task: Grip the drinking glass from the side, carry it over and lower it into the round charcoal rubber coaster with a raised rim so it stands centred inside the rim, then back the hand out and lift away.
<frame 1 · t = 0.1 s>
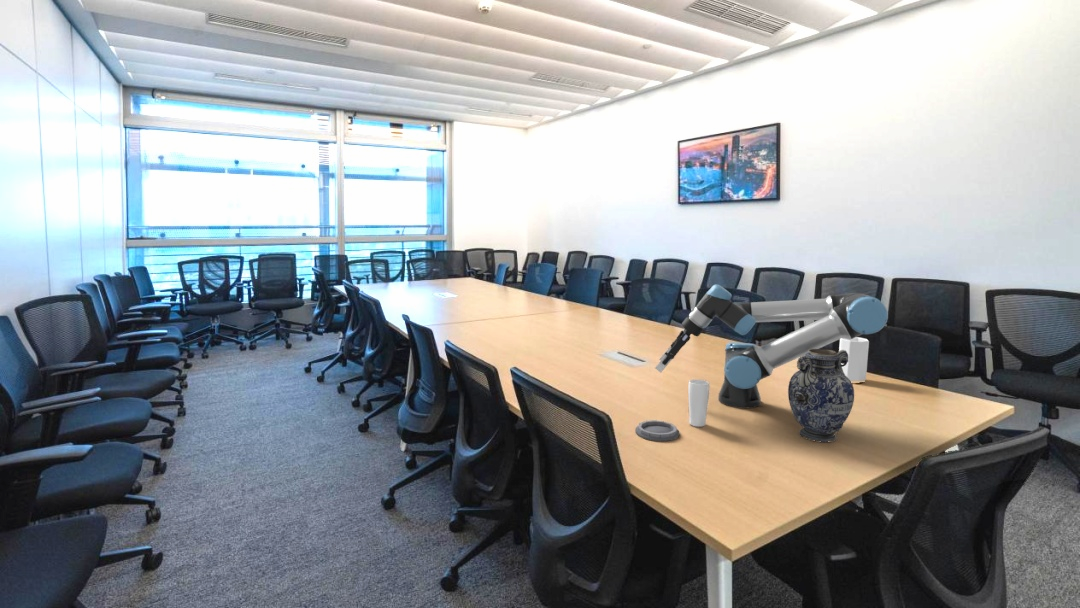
hand: (660, 365, 199), 15 cm above the table, tool tilted 35°, fingers open, 13 cm apart
decorative vase: (817, 436, 171), on the table
coaster: (657, 432, 174), on the table
cup: (850, 380, 233), on the table
drinking glass: (697, 425, 181), on the table
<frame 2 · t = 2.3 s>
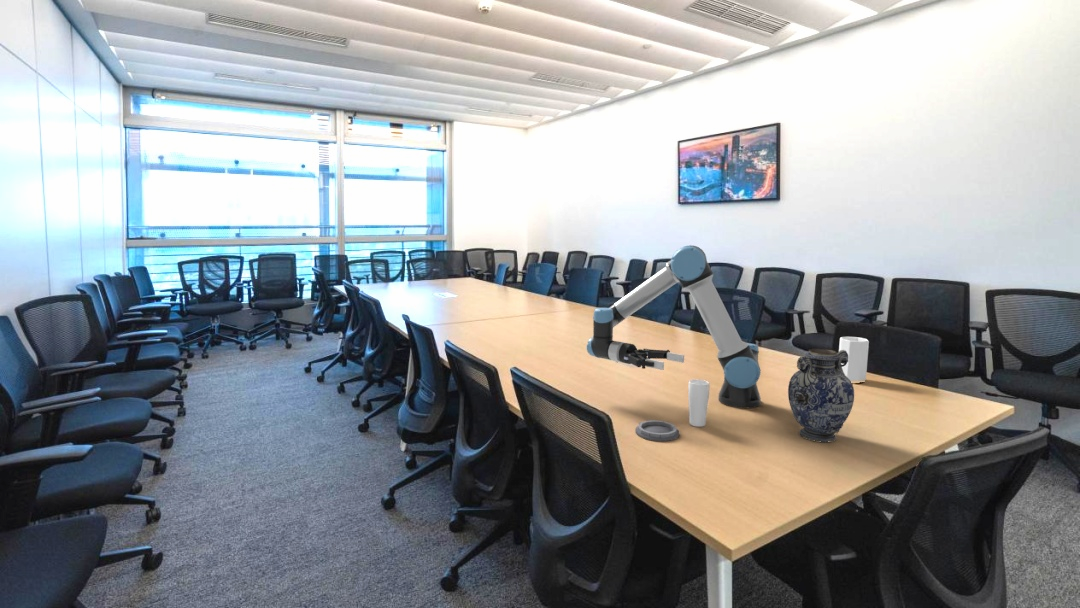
hand: (673, 362, 185), 20 cm above the table, tool horizontal, fingers open, 13 cm apart
nothing on the table moved.
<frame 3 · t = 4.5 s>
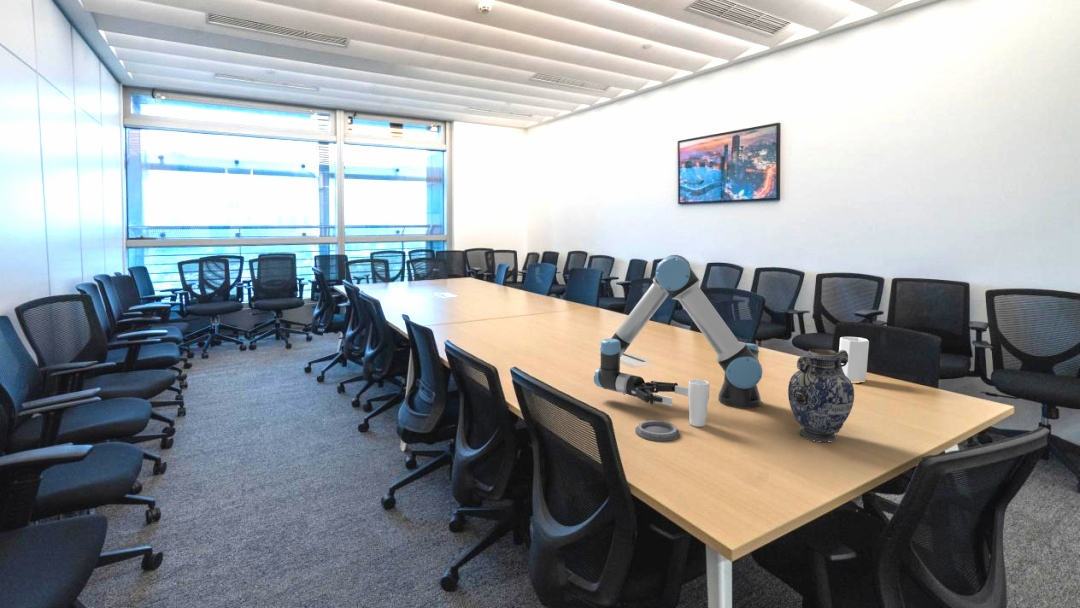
hand: (682, 397, 183), 8 cm above the table, tool horizontal, fingers open, 13 cm apart
nothing on the table moved.
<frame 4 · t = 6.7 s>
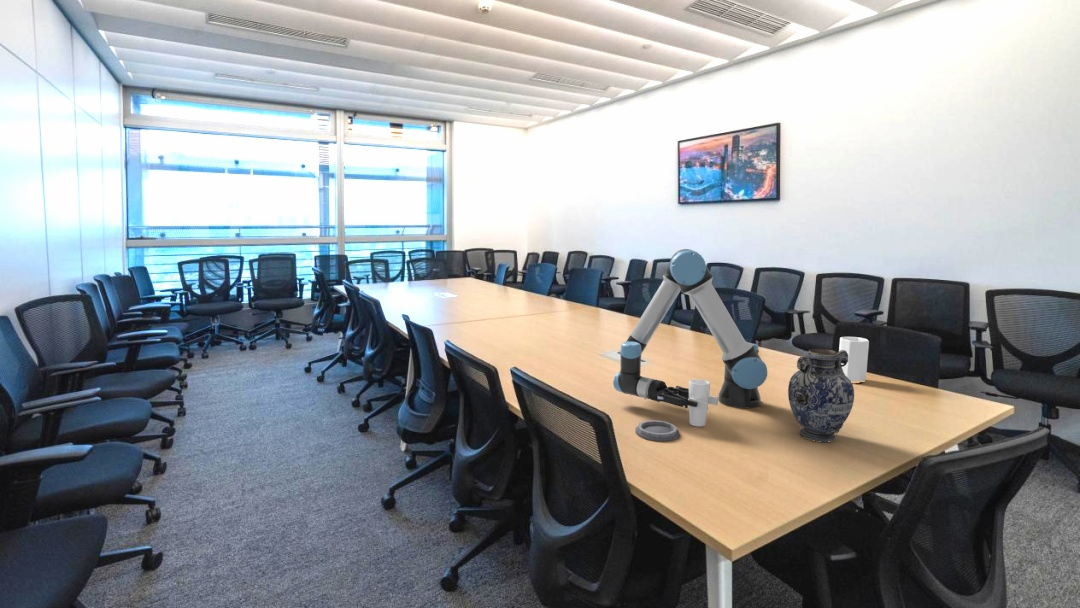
hand: (712, 403, 176), 9 cm above the table, tool horizontal, fingers closed on drinking glass, 6 cm apart
drinking glass: (697, 425, 181), on the table, touching gripper
everything else where it was.
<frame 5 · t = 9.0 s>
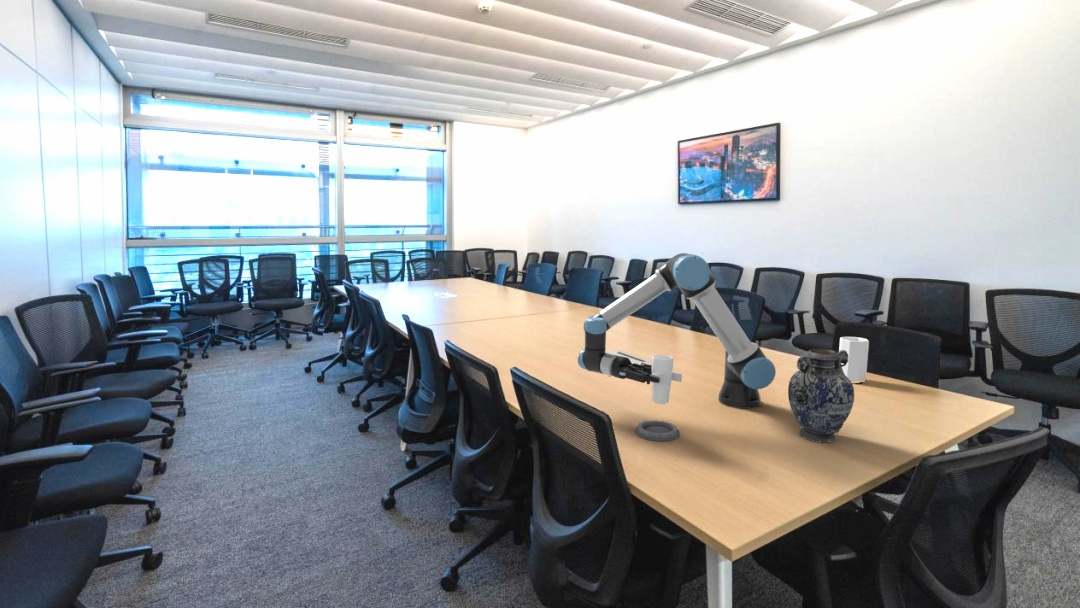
hand: (675, 379, 169), 19 cm above the table, tool horizontal, fingers closed on drinking glass, 6 cm apart
drinking glass: (660, 402, 173), point 10 cm above the table, touching gripper
everything else where it was.
when the fingers open (10 cm above the table, at t = 11.4 s): drinking glass stays where it is, resting on coaster.
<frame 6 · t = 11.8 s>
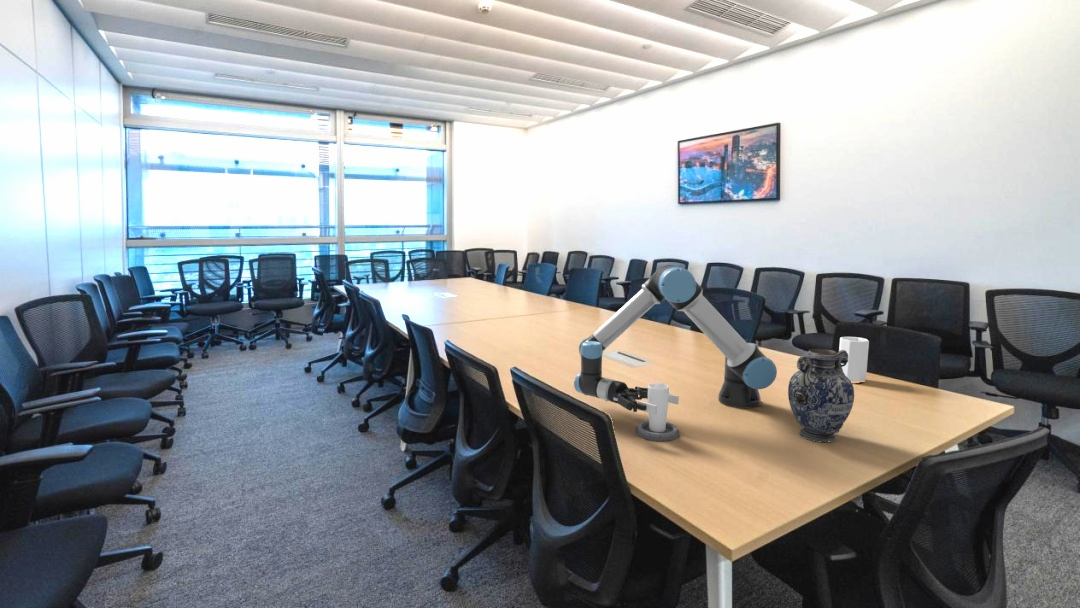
hand: (667, 405, 170), 10 cm above the table, tool horizontal, fingers open, 12 cm apart
drinking glass: (657, 430, 174), point 1 cm above the table, touching coaster
everything else where it was.
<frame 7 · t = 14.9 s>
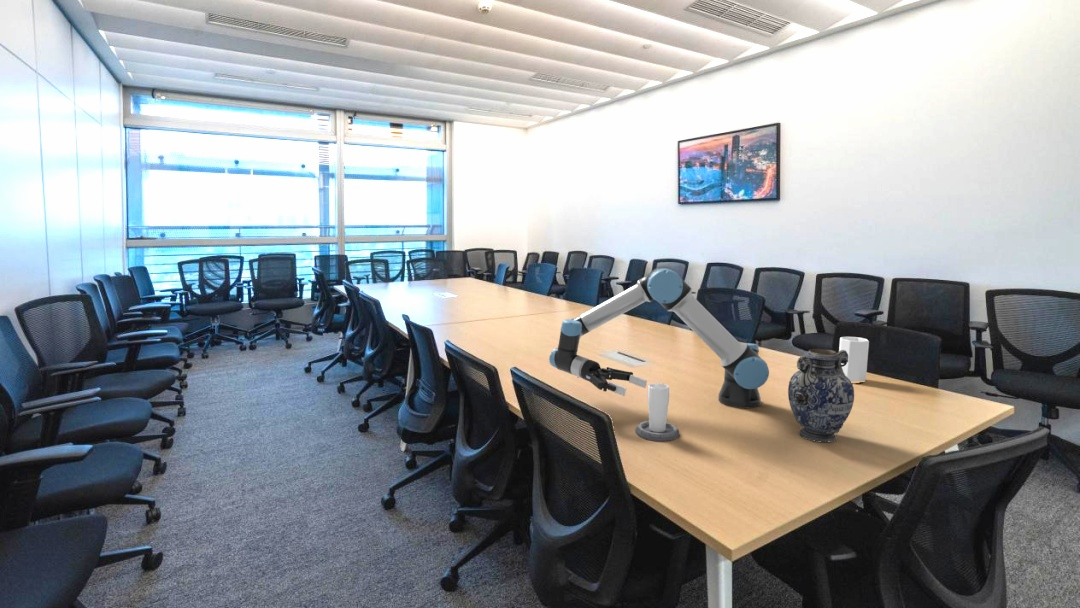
hand: (635, 388, 181), 12 cm above the table, tool horizontal, fingers open, 13 cm apart
nothing on the table moved.
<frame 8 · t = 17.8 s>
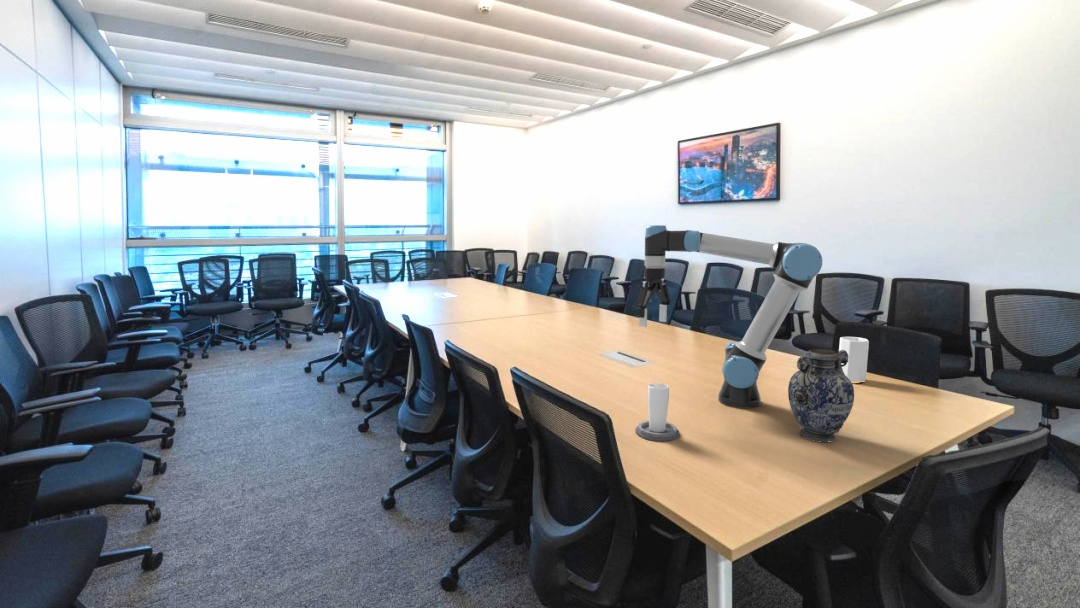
hand: (653, 324, 199), 31 cm above the table, tool pointing down, fingers open, 13 cm apart
nothing on the table moved.
at the end: drinking glass 0.2 cm from the coaster (horizontally); drinking glass tilted 0°; the gripper is holding nothing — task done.
